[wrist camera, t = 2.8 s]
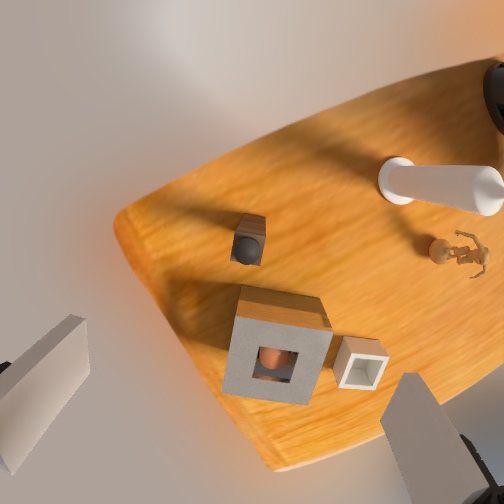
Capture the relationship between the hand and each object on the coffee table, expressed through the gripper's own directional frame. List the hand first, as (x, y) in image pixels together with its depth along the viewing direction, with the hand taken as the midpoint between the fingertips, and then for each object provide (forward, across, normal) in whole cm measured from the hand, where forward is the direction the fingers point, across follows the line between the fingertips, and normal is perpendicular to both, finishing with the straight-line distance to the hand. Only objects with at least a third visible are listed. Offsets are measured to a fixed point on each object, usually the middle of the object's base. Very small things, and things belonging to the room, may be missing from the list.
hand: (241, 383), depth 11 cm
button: (+32, +5, -15) cm, 35 cm away
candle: (+35, +19, +11) cm, 42 cm away
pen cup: (+35, +20, -18) cm, 44 cm away
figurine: (+35, +29, +3) cm, 46 cm away
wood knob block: (+35, -1, 0) cm, 35 cm away
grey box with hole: (+35, +5, -15) cm, 38 cm away
